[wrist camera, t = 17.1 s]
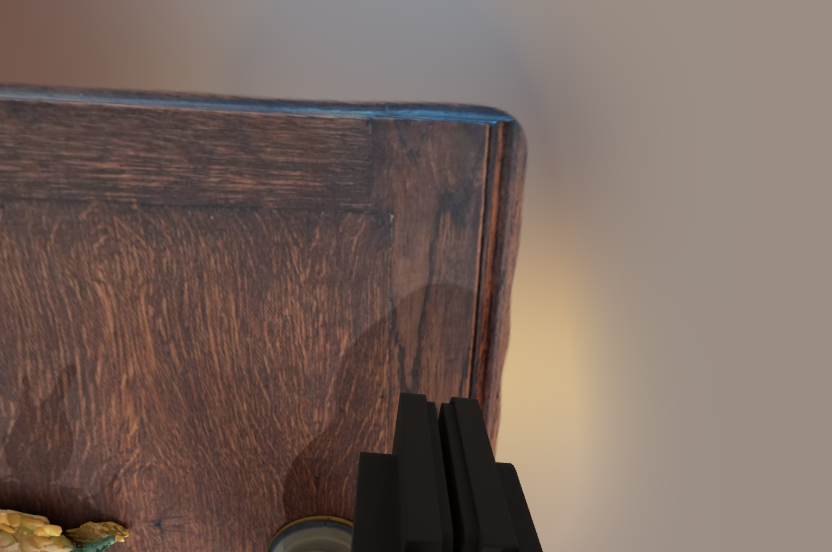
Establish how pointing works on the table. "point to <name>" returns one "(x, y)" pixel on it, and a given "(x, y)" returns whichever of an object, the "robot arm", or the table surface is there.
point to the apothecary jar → (314, 535)
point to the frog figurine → (54, 534)
